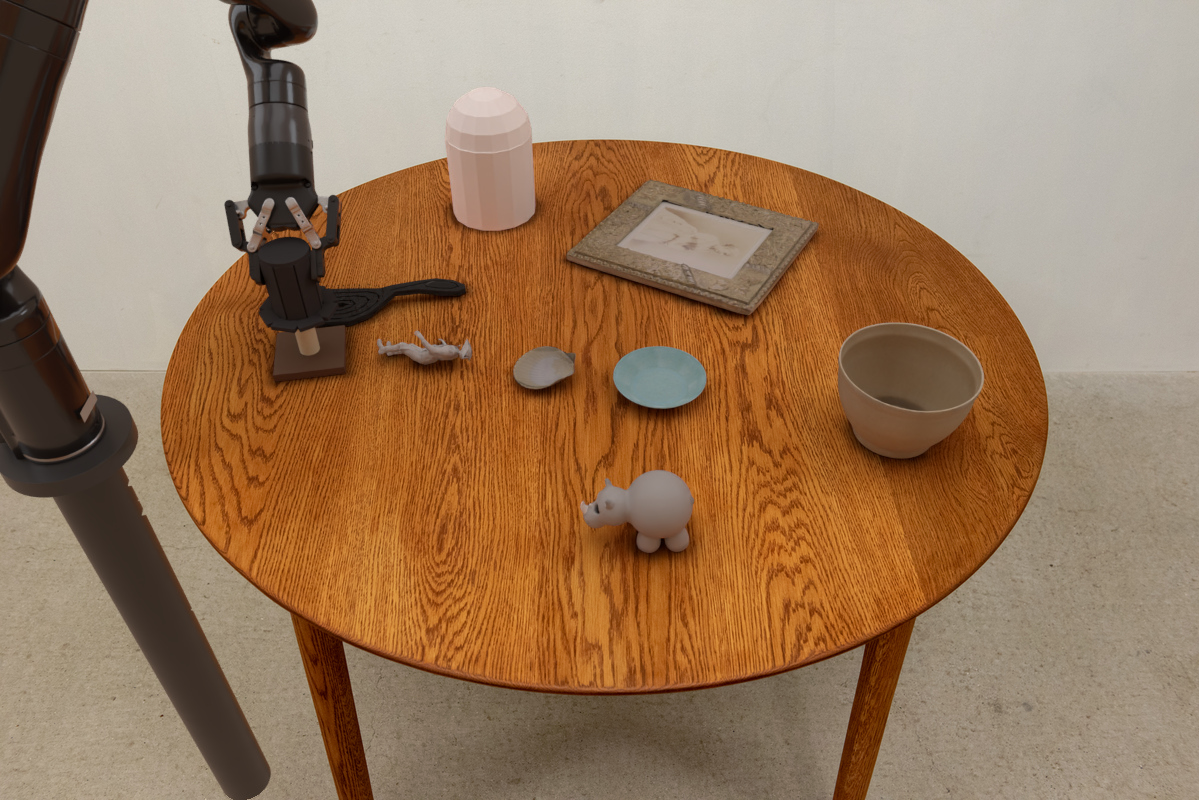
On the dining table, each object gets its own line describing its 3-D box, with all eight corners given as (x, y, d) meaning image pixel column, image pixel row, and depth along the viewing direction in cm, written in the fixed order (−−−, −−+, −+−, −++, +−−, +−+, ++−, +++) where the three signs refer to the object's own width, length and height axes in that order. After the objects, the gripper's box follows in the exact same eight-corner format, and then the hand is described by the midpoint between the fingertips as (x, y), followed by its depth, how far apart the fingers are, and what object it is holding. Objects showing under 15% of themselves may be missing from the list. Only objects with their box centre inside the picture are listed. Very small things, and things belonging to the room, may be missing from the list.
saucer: (697, 427, 116) (698, 413, 114) (603, 412, 118) (603, 398, 116) (711, 366, 124) (712, 353, 123) (623, 353, 126) (624, 340, 125)
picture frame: (648, 186, 160) (648, 172, 158) (818, 231, 148) (820, 216, 146) (565, 263, 143) (565, 249, 141) (751, 321, 131) (752, 306, 129)
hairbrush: (469, 290, 132) (283, 311, 126) (470, 312, 135) (288, 333, 129) (460, 258, 138) (282, 277, 132) (461, 280, 140) (286, 299, 135)
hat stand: (274, 382, 122) (243, 280, 111) (279, 339, 129) (249, 239, 118) (345, 373, 123) (321, 271, 113) (346, 331, 130) (323, 231, 119)
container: (450, 191, 158) (437, 75, 144) (530, 184, 160) (523, 69, 146) (456, 234, 148) (442, 114, 135) (541, 226, 150) (535, 106, 136)
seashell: (522, 368, 127) (509, 396, 120) (518, 347, 125) (505, 374, 118) (582, 364, 125) (573, 392, 118) (579, 343, 124) (569, 370, 117)
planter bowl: (966, 407, 119) (990, 339, 111) (950, 496, 107) (976, 427, 100) (838, 375, 123) (853, 308, 116) (811, 458, 112) (826, 389, 105)
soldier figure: (398, 344, 129) (478, 326, 126) (403, 378, 129) (484, 361, 126) (369, 337, 122) (453, 318, 119) (374, 374, 121) (459, 355, 118)
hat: (256, 337, 117) (237, 277, 110) (262, 291, 124) (245, 232, 118) (338, 328, 118) (324, 268, 112) (339, 283, 125) (326, 224, 119)
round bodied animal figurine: (581, 509, 106) (580, 456, 100) (688, 508, 106) (693, 455, 100) (580, 560, 101) (579, 507, 95) (692, 560, 101) (698, 507, 95)
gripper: (210, 141, 112) (218, 281, 112) (333, 136, 113) (341, 274, 113) (230, 160, 120) (238, 291, 119) (345, 155, 121) (353, 284, 120)
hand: (288, 282), depth 116 cm, fingers closed on hat, 6 cm apart
